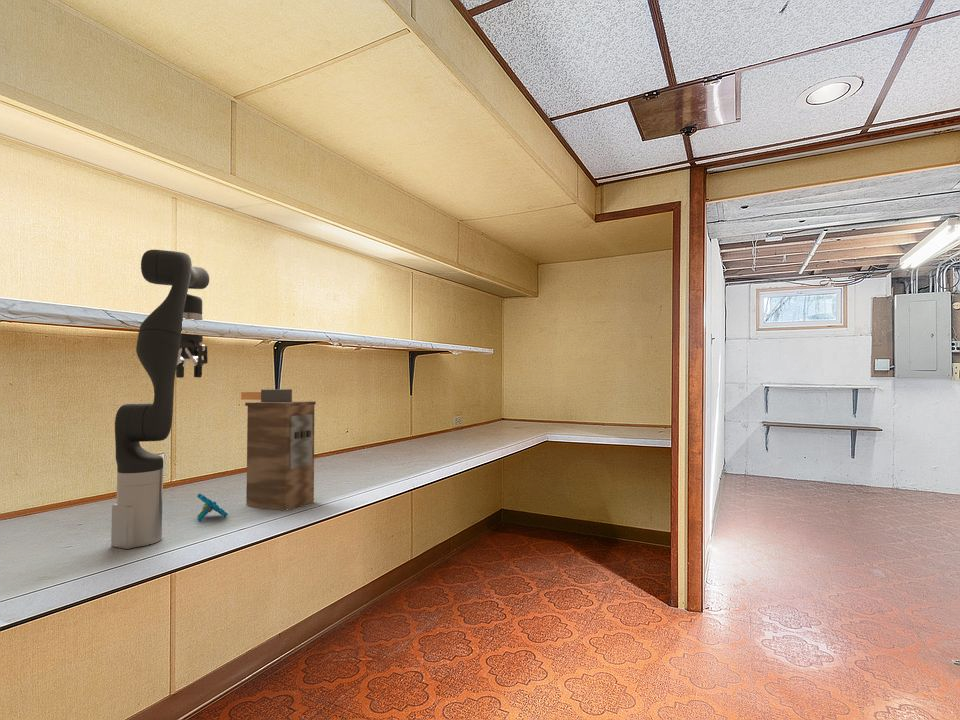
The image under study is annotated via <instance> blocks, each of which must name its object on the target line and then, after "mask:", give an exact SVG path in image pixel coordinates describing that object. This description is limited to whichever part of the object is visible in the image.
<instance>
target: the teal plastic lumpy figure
mask: <svg viewBox="0 0 960 720" xmlns="http://www.w3.org/2000/svg"><path fill="white" fill-rule="evenodd" d="M196 497H197V498H198V499H200V501H201V502H202V503H204V504H203V507H202V508H201V509H202V510H201V511H200V512H199V513H198V514H197V515H196V517H197V520H198V521H199V522H201V521H202V520H203V519H204V518H205V517H206V516H207V515H208V514H209V513H211V512H212V511H213V510H214V512H215V513H216V512H217V513H218V514H219V515H220V516H222V517H224V518H226V517H227V516H228V513H227V512H226V511H225V510H224V509H223V508H222V507H220V506H219V505H218V504H217V502H216V501H212V500H211V499H209V498H208V497H206V496H205V495H204V494H201V493H198V494H197V495H196Z"/></svg>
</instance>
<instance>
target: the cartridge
mask: <svg viewBox="0 0 960 720" xmlns="http://www.w3.org/2000/svg"><path fill="white" fill-rule="evenodd" d="M240 400H242V401H243V400H249V401H251V400H252V401H253V400H254V401H260V402H292V401H293V389H290V388H289V389H288V388H287V389H286V388H285V389H278V388H277V389H275V388H274V389H270V388H269V389H260V391H241V392H240Z"/></svg>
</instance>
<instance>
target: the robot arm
mask: <svg viewBox="0 0 960 720" xmlns="http://www.w3.org/2000/svg"><path fill="white" fill-rule="evenodd" d="M192 264H193V263H192V259H191V257H190V255H189V254H188V253H186V252H182V251H173V250H164V249H149V250H146V251H145V252H144V253H143V255H142V256H141V261H140V270H141V274H142V277H143V279H144V280H145V281H146V282H148V283H149V284H154V285H161V286H162V285H163V286H171V288H170V290H169V292H168V294H167V296H166V297H165V298H164V300H163V301H162V302H161V303H160V304H159V305H158V306H157V307H156V308H155V309H153V311H152V312H150V314H149V315H148V316H147V317H146V318H145V319H144V320H143V321H142V323H141V324H140V326H139V329H138V335H137V341H136V346H135V347H136V348H135V351H136V354H137V355H136V356H137V358H138V360H139V361H140V363H141V365H142V367H143V368H144V370H145V372H146V374H147V375H148V377H149V378H150V381H151V383H152V386H153V392H154V393H153V394H154V395H153V401H152V402H153V403H151V402H150V403H149V402H148V403H147V402H146V403H141V402H140V403H125V404H123V405H121V406H120V407H119V408H118V409H117V412H116V414H115V418H114V442H115V461H116V465H117V469H116V471H117V473H116V503H114V504H112V506H111V528H110V529H111V530H110V531H111V534H110V535H111V536H110V537H111V538H110V546H111V547H115V548H119V549H124V550H128V549H132V548H140V547H145V546H149V544H150V545H152V544H154V543H155V544H156V543H158V542H160V541H162V539H163V503H164V502H163V499H164V498H163V495H164V493H163V492H164V491H163V490H164V458H163V457H162V456H161V455H159V454H155V453H152V452H150V451H147V450H145V448H143V447H142V446H141V444H140V442H141V443H142V442H160V441H162V442H163V441H164V440H166V439H167V438H168V437H169V435H170V433H171V429H172V426H173V425H172V424H173V414H174V413H173V412H174V393H175V381H176V380H175V379H176V378H177V379H179V378H181V379H182V378H184V377H185V364H186V362H188V361H189V360H190V361H192V363H193V377H194V378H202V376H203V366H204V365H206V364H208V361H209V359H208V345H206V344H201V343H203V341H204V338H203V337H204V335H203V336H199V335H186V334H181V331H182V321H183V318H185V319H194V320H203V299H202V298H201V297H200V296H197V295H192V294H189V293H188V291H189V290H204V289H206V288H207V287H208V286H209V284H210V274H209V273H208V271H207V270H206V268H203V267H201V266H200V267H199V266H192ZM203 321H204V320H203Z"/></svg>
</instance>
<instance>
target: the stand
mask: <svg viewBox="0 0 960 720" xmlns="http://www.w3.org/2000/svg"><path fill="white" fill-rule="evenodd" d="M315 405H317V404H316V401H307V400H305V401H304V400H303V401H298V400H297V401H296V400H295V401H294V400H292V402H261V401H253V402H244V406H246V407H247V418H246V419H247V422H246V423H247V425H246V426H247V427H246V429H247V432H246V436H247V439H246V496H245V497H246V501H245V502H246V504H245V505H248V506H247V507H252V506H253V507H254V508H261V509H268V510H269V509H270V510H275V509H278V510H277V511H283V510H286V511H288V510H287V509H289V510H291V509H290V508H292V509H294V508H293V507H296V508H298V507H297V506H299V507H302V506H305V505H308V504H311V503H310V502H312V503H314V502H315V488H314V487H315ZM313 501H314V502H313ZM307 503H308V504H307ZM304 504H305V505H304ZM301 505H302V506H301Z"/></svg>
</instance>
